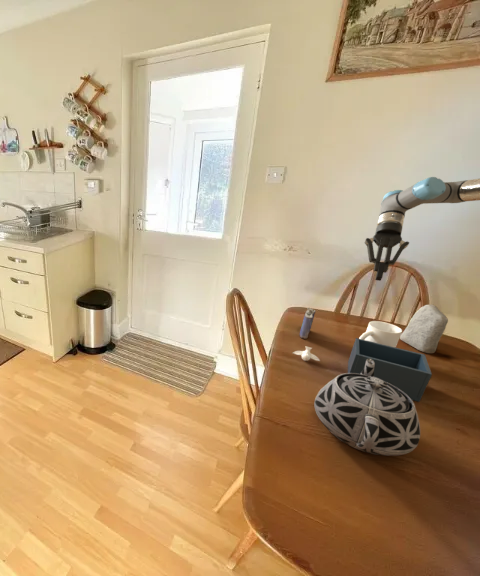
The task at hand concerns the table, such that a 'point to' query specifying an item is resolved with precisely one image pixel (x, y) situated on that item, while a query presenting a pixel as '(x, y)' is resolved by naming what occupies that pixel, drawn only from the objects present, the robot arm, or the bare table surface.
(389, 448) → the teapot
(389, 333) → the mug
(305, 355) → the toy bird
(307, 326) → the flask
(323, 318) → the table surface
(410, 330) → the decorative stone
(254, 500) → the table surface
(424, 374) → the box
